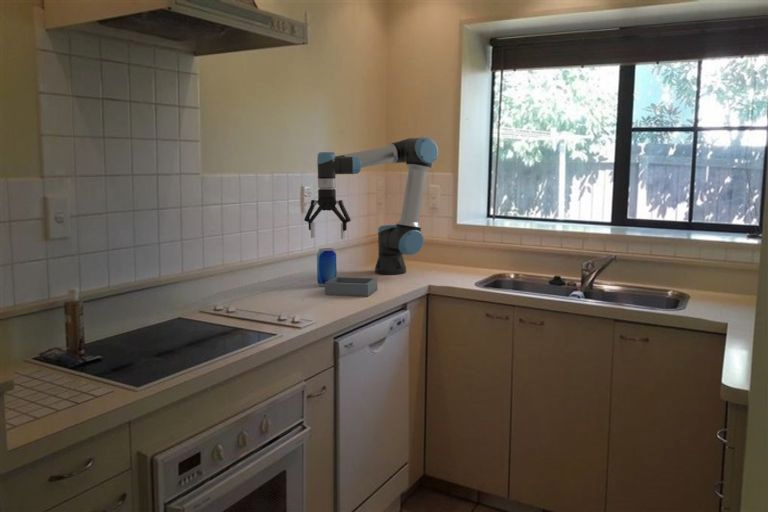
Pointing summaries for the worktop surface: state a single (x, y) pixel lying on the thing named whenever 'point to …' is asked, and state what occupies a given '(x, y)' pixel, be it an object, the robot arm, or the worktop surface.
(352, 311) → the worktop surface
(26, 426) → the worktop surface
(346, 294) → the caddy
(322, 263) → the beer can
